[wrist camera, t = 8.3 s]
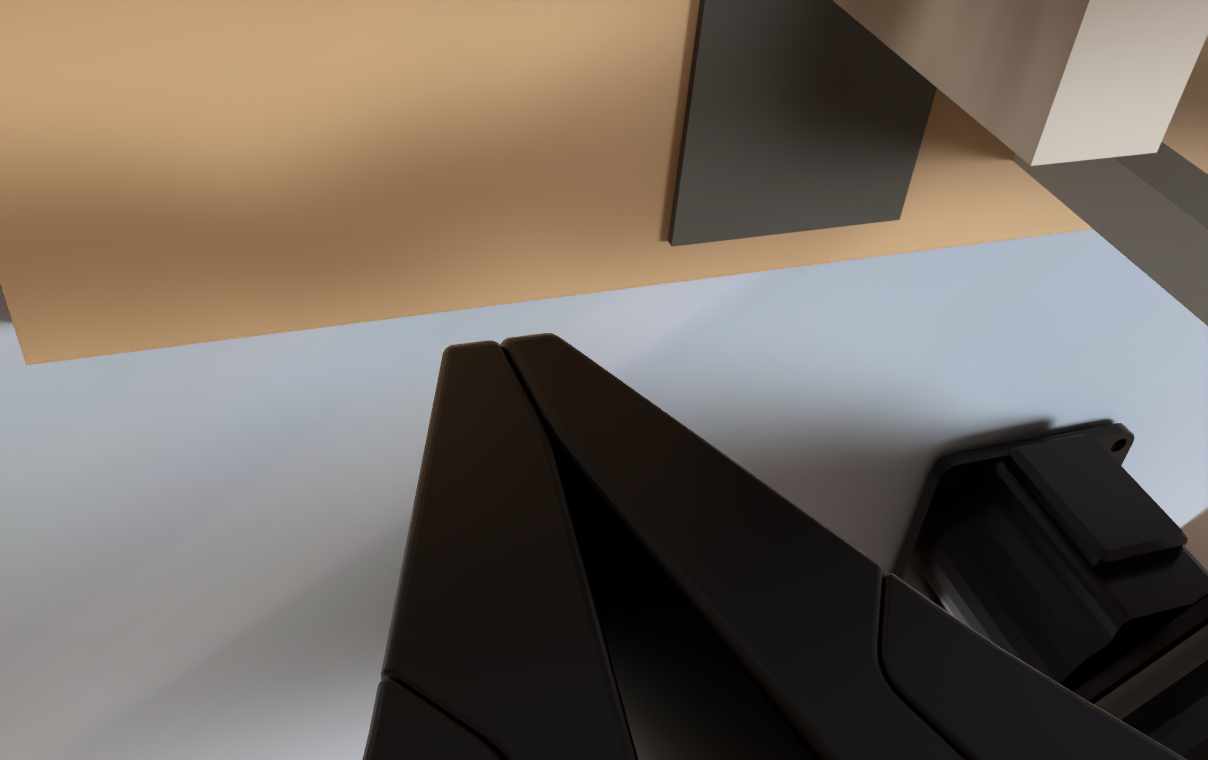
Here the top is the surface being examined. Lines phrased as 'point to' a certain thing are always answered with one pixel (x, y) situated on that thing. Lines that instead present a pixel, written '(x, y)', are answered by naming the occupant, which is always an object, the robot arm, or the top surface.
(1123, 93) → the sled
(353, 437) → the top surface
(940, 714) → the robot arm
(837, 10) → the base board
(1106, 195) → the grey small table
